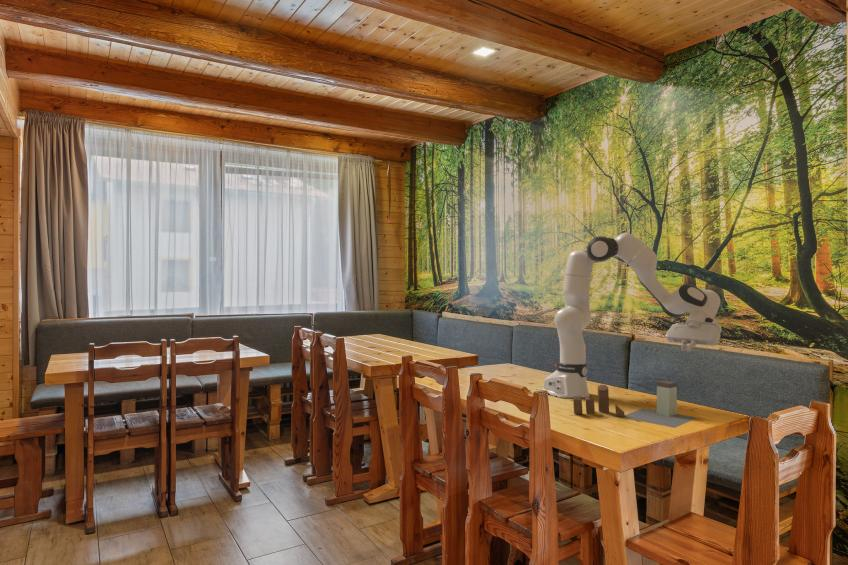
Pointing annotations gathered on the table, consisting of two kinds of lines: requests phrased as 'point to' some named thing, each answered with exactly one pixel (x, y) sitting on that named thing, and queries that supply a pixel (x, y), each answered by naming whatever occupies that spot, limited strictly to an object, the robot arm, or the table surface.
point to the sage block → (667, 398)
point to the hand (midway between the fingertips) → (685, 350)
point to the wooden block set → (602, 403)
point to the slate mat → (658, 418)
